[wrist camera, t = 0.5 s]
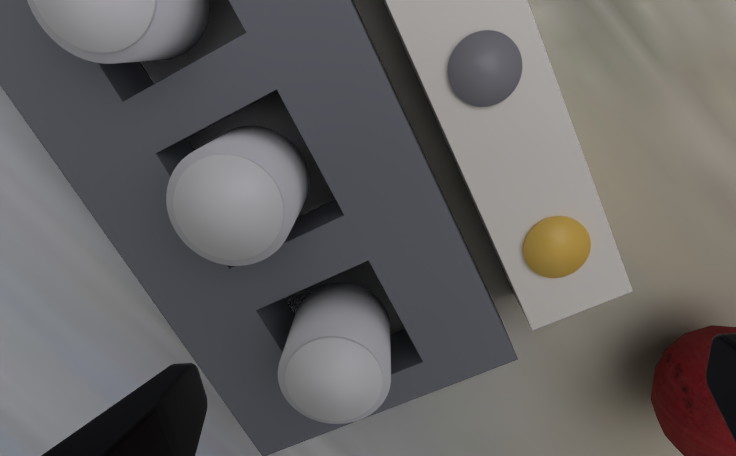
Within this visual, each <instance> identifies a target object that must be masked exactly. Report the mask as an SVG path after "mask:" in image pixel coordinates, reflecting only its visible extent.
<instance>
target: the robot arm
mask: <svg viewBox="0 0 736 456" xmlns="http://www.w3.org/2000/svg"><path fill="white" fill-rule="evenodd" d="M706 381H707V385H708V388H709V390H710V392H711V394H712V396H713V398H714V400H715V402H716V404H717V406H718V408H719V410H720V412H721V414H722V416H723V418H724V420H725V422H726V424H727V426H728V428H729V430H730V432H731V434H732V436H733V438H734V440H735V442H736V333H724V334H718V335H716V336H714V338H713V339H712V343H711V348H710V353H709V358H708V364H707V369H706ZM206 411H207V396H206V393H205V390H204V387H203V384H202V380H201V377H200V374H199V371H198V368H197V367H196V365H194V364H192V363H184V364H173V365H171V366H169V367H168V368H166V369H165V370H163V371H162V372H160V373H159V374H158V375H156V376H155V377H153V378H152V379H150V380H149V381H147V382H146V383H145V384H143V385H142V386H140V387H139V388H137V389H136V390H135V391H133V392H132V393H130V394H129V395H127V396H126V397H125V398H123V399H122V400H120V401H119V402H117V403H116V404H115V405H113V406H112V407H110V408H109V409H107V410H106V411H105V412H103V413H102V414H100V415H99V416H97V417H96V418H95V419H93V420H92V421H90V422H89V423H87V424H86V425H84V426H83V427H82V428H80V429H79V430H77V431H76V432H74V433H73V434H72V435H70V436H69V437H67V438H66V439H64V440H63V441H62V442H60V443H59V444H57V445H56V446H54V447H53V448H52V449H50V450H49V451H47V452H46V453H44V454H43V455H42V456H195V454H196V450H197V446H198V443H199V439H200V435H201V431H202V427H203V423H204V419H205V416H206Z"/></svg>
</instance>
